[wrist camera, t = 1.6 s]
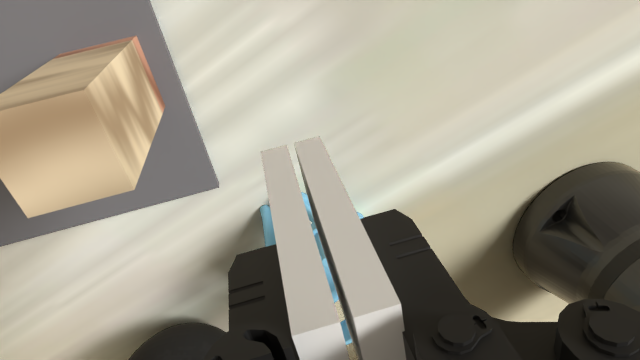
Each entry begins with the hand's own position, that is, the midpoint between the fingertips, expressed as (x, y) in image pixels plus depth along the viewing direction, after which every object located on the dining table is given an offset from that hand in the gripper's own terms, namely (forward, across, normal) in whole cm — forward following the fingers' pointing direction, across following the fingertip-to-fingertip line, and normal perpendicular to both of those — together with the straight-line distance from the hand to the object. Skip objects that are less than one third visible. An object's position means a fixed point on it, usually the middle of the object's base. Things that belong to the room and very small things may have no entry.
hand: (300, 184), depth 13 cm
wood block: (+20, +10, 0) cm, 22 cm away
